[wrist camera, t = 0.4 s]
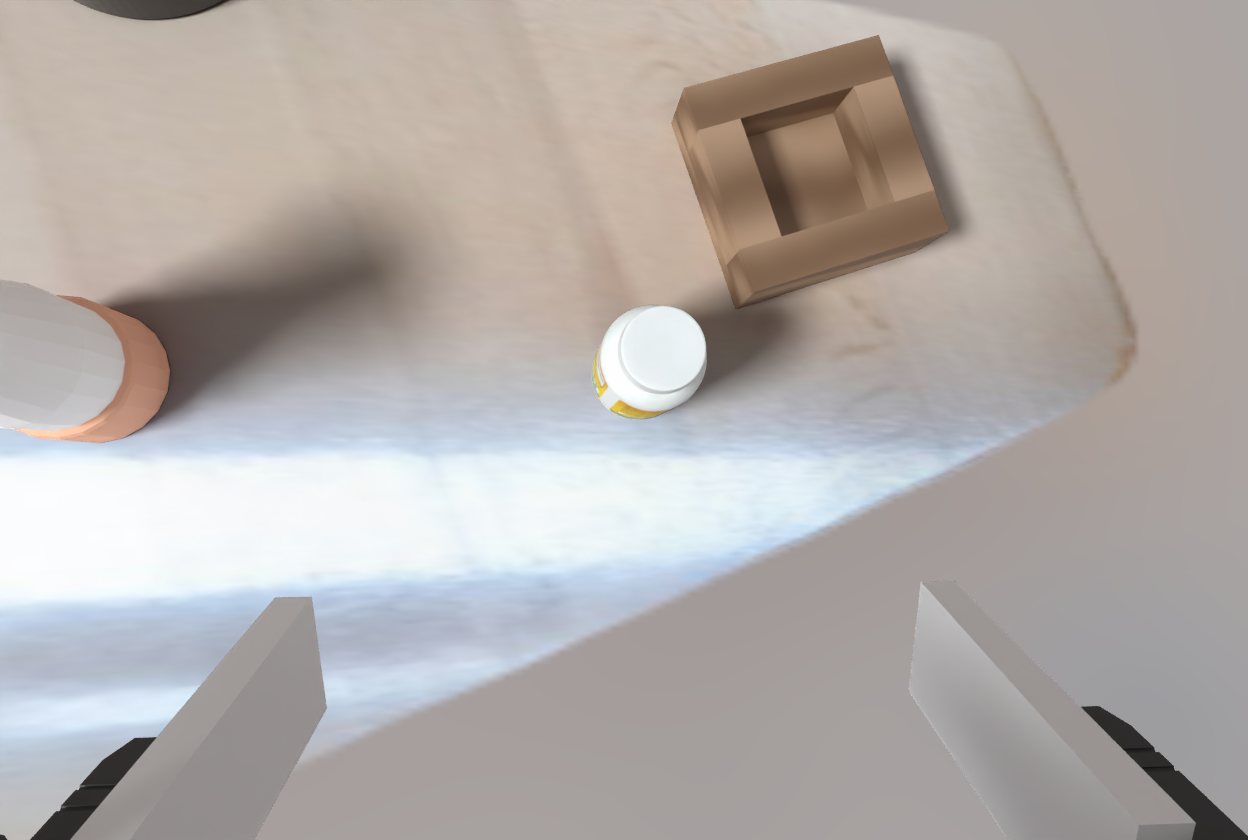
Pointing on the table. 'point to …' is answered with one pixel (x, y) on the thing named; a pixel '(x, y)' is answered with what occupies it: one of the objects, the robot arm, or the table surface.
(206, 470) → the table surface
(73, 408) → the pepper shaker
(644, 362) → the supplement bottle
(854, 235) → the socket block
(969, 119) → the table surface
